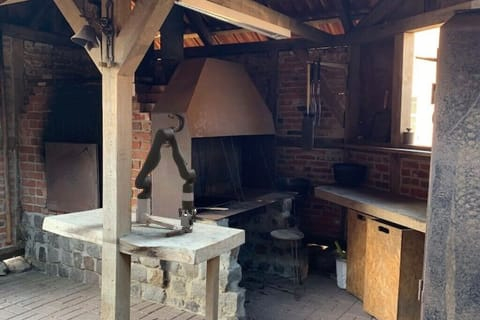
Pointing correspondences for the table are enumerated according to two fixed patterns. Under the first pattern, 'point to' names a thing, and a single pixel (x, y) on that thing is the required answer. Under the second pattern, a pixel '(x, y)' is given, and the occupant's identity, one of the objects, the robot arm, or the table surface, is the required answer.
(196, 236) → the table surface
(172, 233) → the ratchet
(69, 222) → the table surface
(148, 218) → the wrench
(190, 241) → the table surface
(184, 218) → the socket
